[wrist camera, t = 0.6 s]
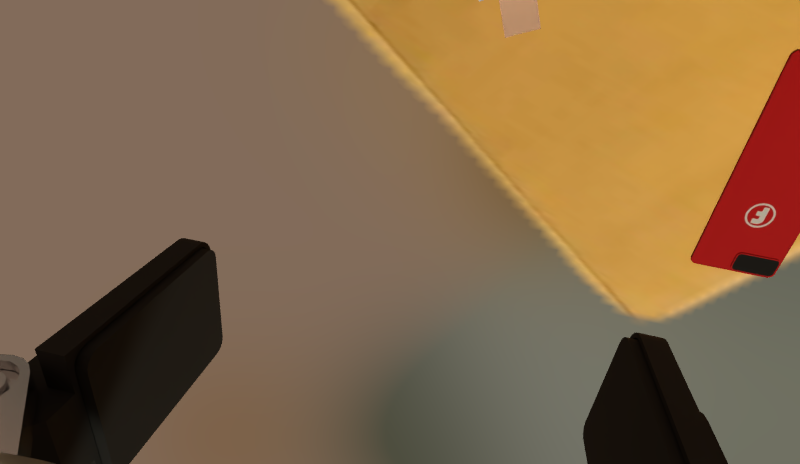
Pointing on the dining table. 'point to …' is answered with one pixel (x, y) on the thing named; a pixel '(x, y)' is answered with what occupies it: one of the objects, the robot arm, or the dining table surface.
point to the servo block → (519, 16)
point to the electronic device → (761, 190)
